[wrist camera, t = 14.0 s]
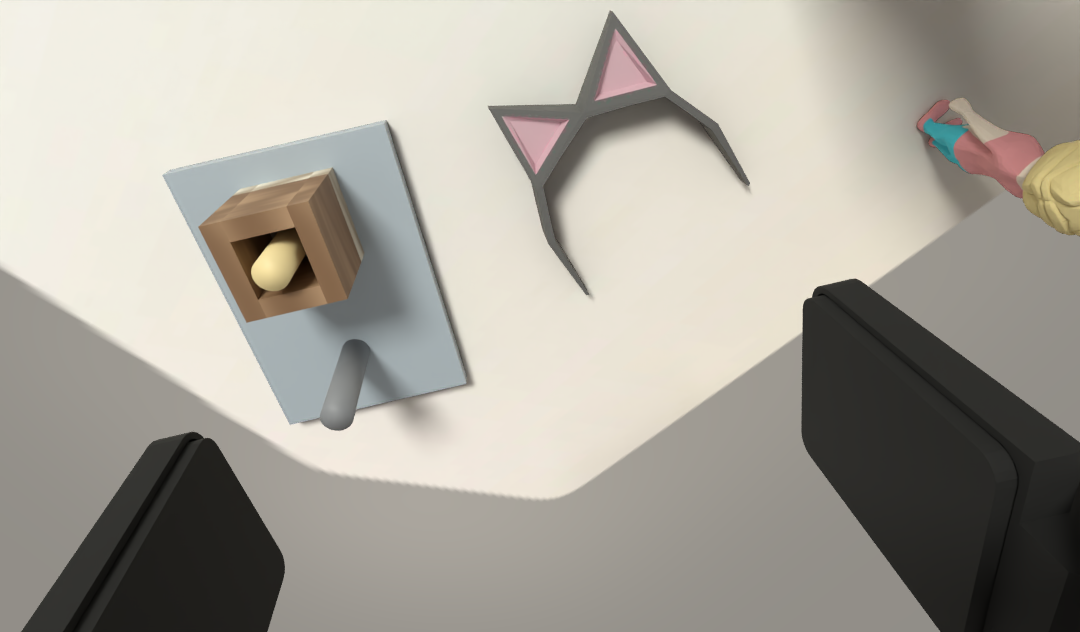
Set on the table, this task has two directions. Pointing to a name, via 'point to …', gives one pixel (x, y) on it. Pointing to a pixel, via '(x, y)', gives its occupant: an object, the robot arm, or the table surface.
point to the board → (377, 293)
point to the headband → (607, 87)
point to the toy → (1012, 162)
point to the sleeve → (279, 206)
